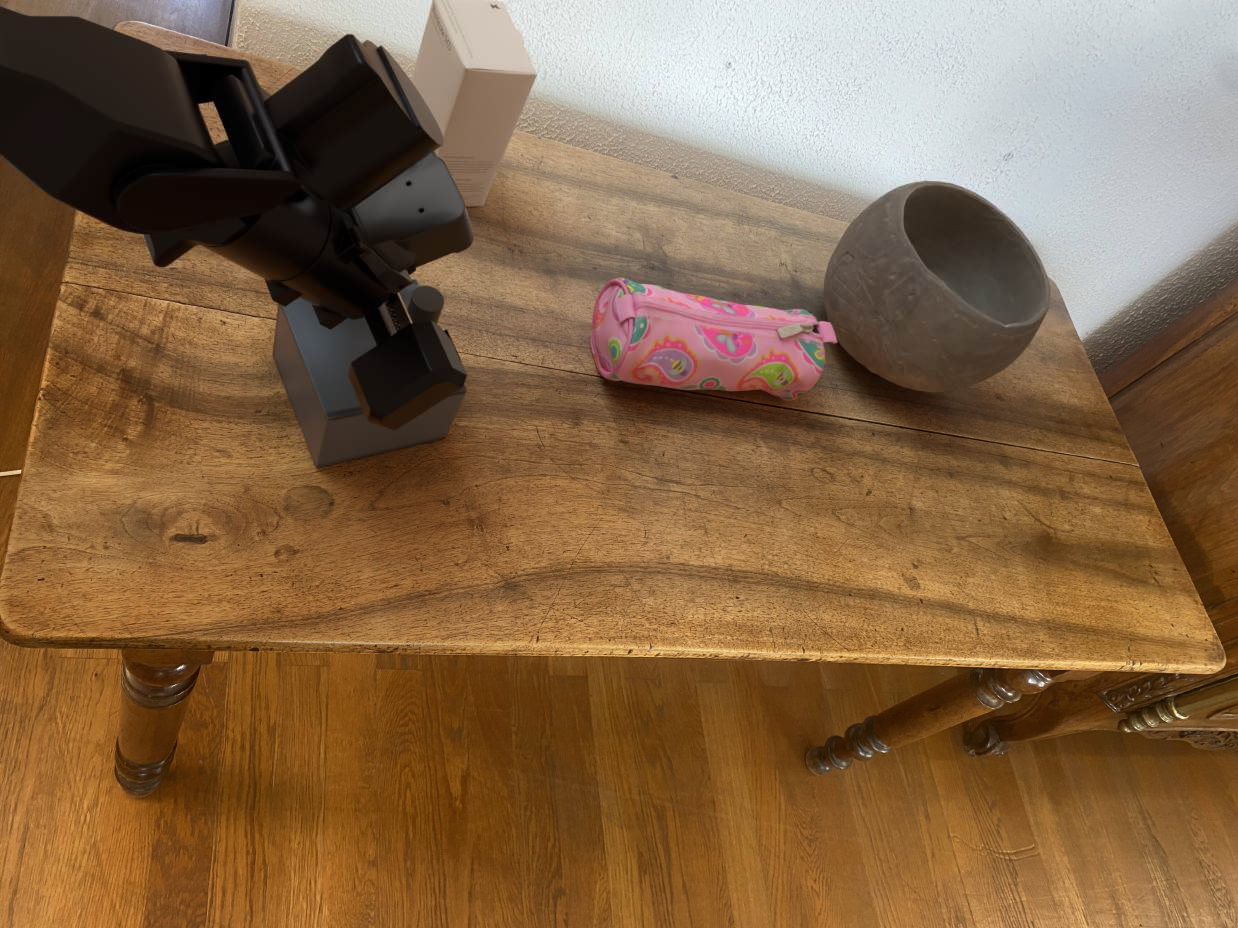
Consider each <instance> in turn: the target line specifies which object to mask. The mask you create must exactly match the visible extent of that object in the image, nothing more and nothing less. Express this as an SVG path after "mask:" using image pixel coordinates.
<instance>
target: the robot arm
mask: <svg viewBox="0 0 1238 928" xmlns="http://www.w3.org/2000/svg"><path fill="white" fill-rule="evenodd" d="M207 103H213V105H214V107H215V109H216V110H215V111H216V112H217V114H218V117H219V120H220V122H221V125H222V127H223V129H224V132H225V134H226V137H227V139H224V140H222V141H219V142H217V143H214V141H213V137H212V136H211V132H210V130H209V128H208V124H207V123H206V120H205V117H204V115H203V113H202V110H201V107H200V105H202V104H207ZM442 145H444V139H443V135H442V133H441V130H440V128H439V126H438V124H437V122H436V120H435V118H434V116H433V114H432V113H431V111H430V109H429V107H428V106H427V104H426V103H425V101H424V99H423V98H422V96H421V95H420V93H419V92H418V90H417V89H416V87H415V86H414V84H413V83H412V82H411V79H410V77H409V76H408V74H407V73H406V72H405V70H404V69H403V68H402V66H400V64H399V62H397V60H396V59H395V58H394V57H393V55H391V53H390V52H389V51H388V50H387V49H386V48H385V47H384V46H383V44H381V45H379V46H378V45H376V44H375V43H374V42H372V41H371V40H369V39H366V40H365V41H363V42H361V41H360V40H359V39H358V38H357V37H356V36H355V35H354V34H352V33H346V34H345V35H344V36H342V37H341V38H339V39H337V40H336V42H334V43H333V44H332V45H331V46H329V47H328V48H327V49H325V51H324V52H323V53H322V55H321V56H320V57H319V58H318V59H317V60H316V61H315V62H314V63H313V64H311V65H310V66H309V67H308V68H306V69H305V70H303V71H302V72H301V73H299V74H298V75H296V76H295V77H294V78H293V79H291V80H290V81H288V82H287V83H286V84H285V85H283V86H281V88H280V89H278V90H276V92H274V93H273V94H271V93H269V92H268V91H267V90H266V89H264V87H262V86H261V84H260V82H259V80H258V78H257V75H256V73H255V70H254V68H253V66H252V63H250V61H249V60H246V59H241V58H233V57H224V56H217V55H207V53H193V52H185V51H176V50H167V49H163V48H161V47H159V46H156V45H154V44H152V43H149V42H148V41H144V40H142V39H140V38H137V37H134V36H131V35H129V34H126V33H123V32H120V31H118V30H115V29H112V28H109V27H107V26H104V25H101V24H99V23H97V22H93V21H91V20H88V19H86V18H83V17H79V16H74V15H27V14H24V13H21V12H18V11H15V10H13V9H10V8H7V7H3V6H1V5H0V158H2V159H4V160H5V161H6V162H7V163H8V164H9V165H11V167H13V168H14V169H15V170H17V171H18V172H19V173H20V174H21V175H23V176H24V177H25V178H26V179H27V180H29V181H30V183H32V184H34V186H36V187H37V188H38V189H39V190H40V191H42V192H43V193H44V194H46V195H47V196H48V197H50V198H52V199H54V200H55V201H58V202H60V203H62V204H64V205H66V206H68V207H70V208H71V209H74V210H76V211H77V212H80V213H81V214H84V215H86V216H88V217H90V218H92V219H94V220H97V221H98V222H101V223H102V224H104V225H107V226H108V227H111V228H114V229H116V230H119V231H122V232H127V233H131V234H136V235H143V236H144V240H145V244H146V247H147V249H148V251H149V254H150V255H149V256H150V258H151V260H152V263H153V265H154V266H156V267H157V268H167V267H169V266H170V265H171V264H173V263H174V262H175V261H177V260H178V259H180V258H181V257H183V256H185V254H187V253H188V252H190V251H191V250H192V249H194V248H195V247H198V246H201V247H203V248H205V249H206V250H209V251H210V252H213V253H215V254H216V255H218V256H220V257H222V258H224V259H225V260H227V261H229V262H231V263H234V264H235V265H237V266H239V267H241V268H243V269H245V270H246V271H248V272H250V273H252V274H254V275H256V276H258V277H260V278H261V279H263V280H264V282H265V285H266V287H267V289H268V292H269V295H270V298H271V300H272V301H273V302H274V303H276V304H277V305H278V304H280V305H282V306H284V307H286V306H287V305H289V304H290V303H292V302H293V301H295V300H296V299H298V298H299V297H300V298H302V299H303V300H305V301H307V302H309V303H311V304H312V306H313V308H314V311H315V313H316V316H317V318H318V321H319V323H320V325H322V326H324V327H326V328H328V329H330V330H331V329H333V328H334V327H336V326H337V325H339V324H340V323H341V322H343V321H344V320H346V319H347V318H349V319H351V320H356V319H360V318H363V317H365V319H366V321H367V324H368V326H369V328H370V331H371V333H372V335H373V338H374V340H375V342H376V345H377V346H375V347H374V348H372V349H371V350H369V351H368V352H366V353H365V354H363V355H361V356H360V357H358V358H357V359H355V360H354V361H352V362H351V364H350V368H349V372H348V376H349V378H350V381H351V383H352V386H353V388H354V390H355V393H356V395H357V398H358V400H359V403H360V405H361V407H362V410H363V412H364V415H365V417H366V419H367V421H368V422H371V423H374V424H376V425H379V426H382V427H385V428H388V429H391V430H397V429H399V428H400V427H402V426H403V425H405V424H406V423H408V422H410V421H411V420H413V419H414V418H416V417H418V416H419V415H421V414H422V413H424V412H425V411H427V410H429V409H430V408H432V407H433V406H435V405H437V404H438V403H440V402H441V401H443V400H444V399H446V398H448V397H449V396H451V395H452V394H454V393H455V392H457V391H459V390H460V389H462V388H463V386H464V385H465V383H466V380H467V376H468V374H467V372H466V369H465V367H464V365H463V361H462V358H461V357H460V354H459V352H458V350H457V347H456V345H455V343H454V341H453V339H452V337H451V334H450V332H449V330H448V329H447V328H446V329H443V328H442V327H441V325H439V324H438V323H437V324H436V323H434V322H433V321H431V320H429V321H423V322H416V323H413V322H412V320H411V318H410V315H409V313H408V311H407V309H406V307H405V304H404V302H403V300H402V298H401V295H400V293H399V292H400V291H401V290H403V289H404V288H406V287H407V286H409V285H410V284H412V283H413V282H412V280H413V279H412V277H411V275H412V274H414V273H415V272H416V271H417V268H419V267H421V266H425V265H426V264H429V263H431V262H434V261H436V260H439V259H441V258H444V257H446V256H449V255H451V254H459V253H461V252H464V251H466V250H467V249H468V248H471V245H472V244H473V242H474V240H475V239H474V238H475V235H474V231H473V228H472V223H471V221H470V216H469V214H468V210H467V207H466V206H465V203H464V200H463V198H462V196H461V194H460V192H459V190H458V188H457V186H456V184H455V182H454V180H453V178H452V176H451V174H450V172H449V170H448V168H447V166H446V164H445V162H444V161H443V160H442V159H441V158H439V157H437V155H436V153H435V150H437V149H438V148H439V147H441V146H442ZM391 313H392V314H391ZM393 318H394V319H393ZM396 323H397V324H396Z"/></svg>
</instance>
